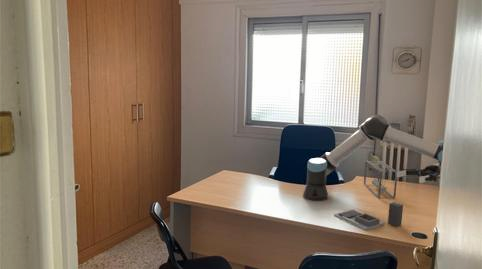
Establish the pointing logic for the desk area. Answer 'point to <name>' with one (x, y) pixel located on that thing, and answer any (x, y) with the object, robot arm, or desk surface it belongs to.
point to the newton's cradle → (377, 182)
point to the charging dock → (359, 219)
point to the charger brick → (395, 214)
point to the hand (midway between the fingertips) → (408, 177)
